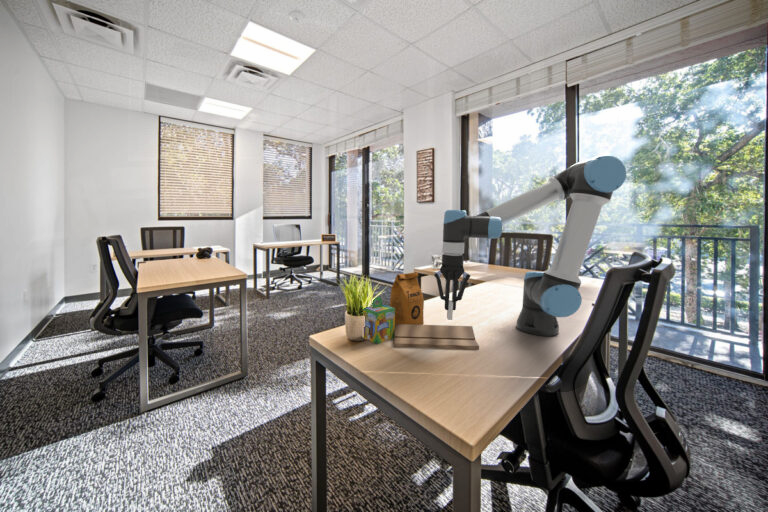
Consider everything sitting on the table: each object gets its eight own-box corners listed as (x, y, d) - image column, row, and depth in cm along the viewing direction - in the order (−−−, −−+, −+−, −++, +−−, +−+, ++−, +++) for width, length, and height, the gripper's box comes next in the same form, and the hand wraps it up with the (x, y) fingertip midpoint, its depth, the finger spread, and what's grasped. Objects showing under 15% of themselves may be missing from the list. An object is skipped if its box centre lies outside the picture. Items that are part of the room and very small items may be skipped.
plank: (471, 328, 116) (472, 326, 115) (474, 341, 111) (475, 338, 110) (395, 326, 117) (395, 324, 117) (394, 338, 112) (394, 336, 111)
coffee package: (427, 328, 124) (428, 273, 122) (402, 335, 116) (404, 276, 114) (410, 322, 132) (411, 270, 130) (386, 327, 124) (387, 272, 122)
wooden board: (470, 336, 117) (471, 332, 117) (479, 350, 105) (479, 346, 105) (394, 334, 118) (395, 330, 118) (394, 347, 106) (394, 343, 106)
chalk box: (377, 345, 108) (377, 303, 106) (359, 337, 115) (359, 297, 113) (395, 338, 114) (396, 298, 113) (378, 331, 121) (378, 293, 119)
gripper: (469, 253, 115) (465, 316, 118) (433, 252, 116) (430, 314, 119) (474, 255, 108) (470, 322, 111) (435, 254, 108) (432, 321, 111)
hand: (449, 318), depth 115 cm, fingers closed
